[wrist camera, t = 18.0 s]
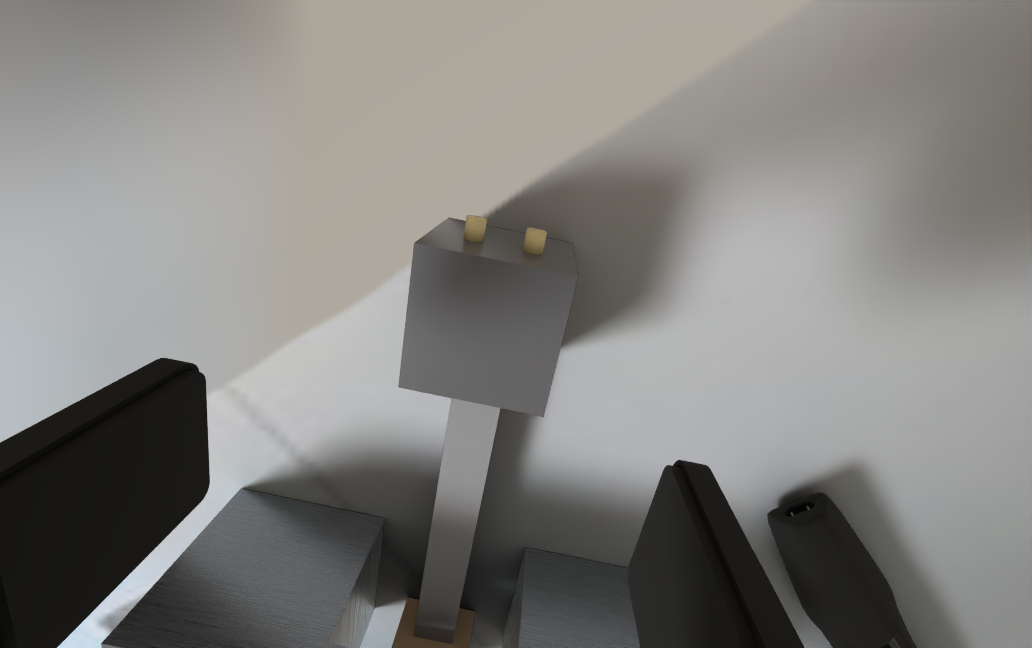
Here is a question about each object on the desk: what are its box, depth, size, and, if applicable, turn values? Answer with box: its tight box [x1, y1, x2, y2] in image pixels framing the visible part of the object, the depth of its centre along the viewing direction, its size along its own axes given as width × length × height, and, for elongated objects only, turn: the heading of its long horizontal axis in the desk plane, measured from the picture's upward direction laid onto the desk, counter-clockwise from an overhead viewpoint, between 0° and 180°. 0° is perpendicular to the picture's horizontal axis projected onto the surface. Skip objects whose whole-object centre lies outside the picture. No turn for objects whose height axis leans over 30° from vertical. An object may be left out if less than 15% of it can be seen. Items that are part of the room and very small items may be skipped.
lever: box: [392, 215, 578, 648], centre depth 18 cm, size 22×4×4 cm, turn 169°
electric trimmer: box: [768, 492, 917, 648], centre depth 20 cm, size 4×16×3 cm, turn 32°
